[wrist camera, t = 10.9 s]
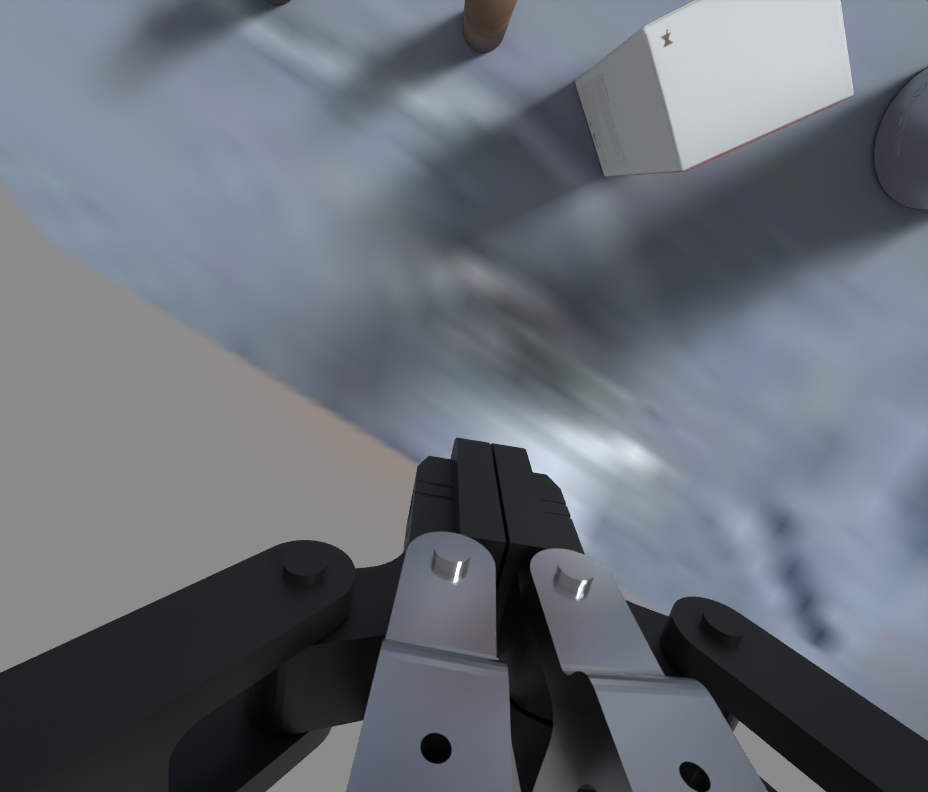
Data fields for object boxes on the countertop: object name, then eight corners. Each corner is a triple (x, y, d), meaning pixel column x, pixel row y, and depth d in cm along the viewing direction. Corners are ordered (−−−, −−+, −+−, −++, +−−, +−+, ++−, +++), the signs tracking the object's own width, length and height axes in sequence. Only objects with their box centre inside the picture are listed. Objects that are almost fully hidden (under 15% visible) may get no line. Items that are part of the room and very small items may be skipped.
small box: (603, 179, 37) (679, 175, 25) (572, 80, 35) (638, 23, 23) (720, 126, 36) (859, 95, 24) (695, 21, 34) (834, -72, 22)
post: (509, 8, 33) (526, -44, 26) (499, 56, 34) (514, 20, 27) (467, -3, 33) (472, -57, 25) (459, 47, 34) (461, 8, 26)
